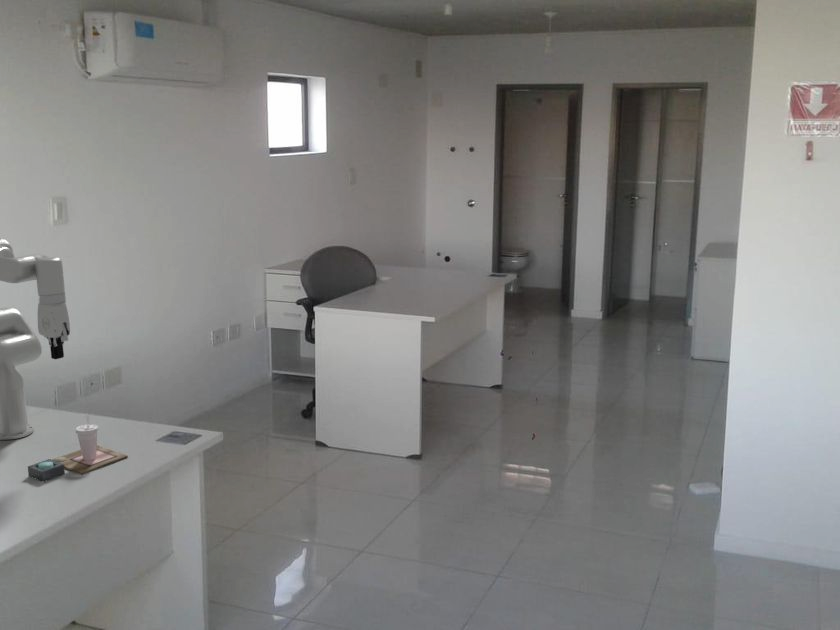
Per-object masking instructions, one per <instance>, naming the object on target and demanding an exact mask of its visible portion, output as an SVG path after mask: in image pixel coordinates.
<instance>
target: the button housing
mask: <svg viewBox="0 0 840 630" xmlns="http://www.w3.org/2000/svg"><path fill="white" fill-rule="evenodd" d="M43 462H53V466H52V467H49V468H47V469H44V470H43V469H40V468H38V465H39V464H40V463H43ZM65 471H66V470H65V468H64V464H62V463H59V462H56V461H54V460H52V459H50V458H49V459H45V460H42V461H40V462H39V461H38V462H37V463H34V464H31V465H28V466H27V473H28V477H29V476H30V478H32V477H33V478H32V479H34V478H36V479H35V480H37V479H38V480H37V481H39V480H40V482H42V481H44V482H46V480H47V481H50V480H52V479H55V478H58V477H60V476H63V475H66V474H65V473H66V472H65Z"/></svg>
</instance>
